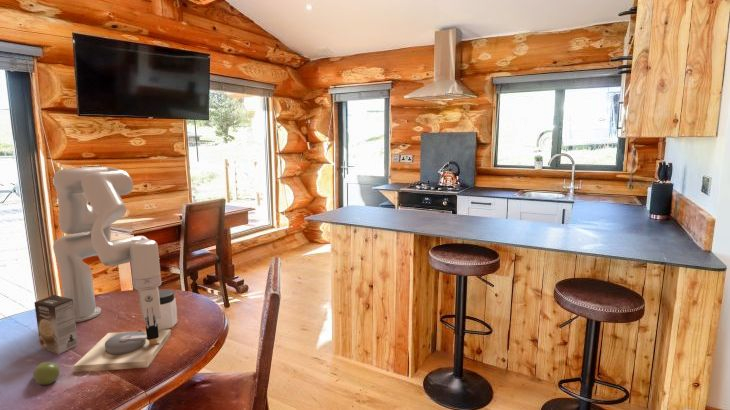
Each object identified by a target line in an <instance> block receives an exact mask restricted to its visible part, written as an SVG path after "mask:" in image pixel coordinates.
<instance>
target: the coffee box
mask: <svg viewBox="0 0 730 410" xmlns="http://www.w3.org/2000/svg"><path fill="white" fill-rule="evenodd" d="M34 310H35V318H36V325H37V330H38V331H37V332H38V337H39V339H38V340H39V345H40V349H41V350H44V351H48V352H52V353H55V354H58V355H60V354H62V353H64V352H66V351H69V350H70V349H72V348H74V347H76V346H78V345H79V343H78V342H79V341H78V333H77V326H76V324H77V323H76V322H75V315H74V306H73V299H70V298H66V297H63V296H60V295H56V294H53V295H51V296H48V297H45V298H42V299H40V300H37V301H34Z"/></svg>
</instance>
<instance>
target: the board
mask: <svg viewBox="0 0 730 410" xmlns="http://www.w3.org/2000/svg"><path fill="white" fill-rule="evenodd" d="M171 329H172V328H169V329H164V330H158V334H159V337H158V338H157V340H158V343H156V344H154V345H150V344H149V340H147V339H146V343H145V344H144V346H142V347H141V348H139V349H137V350H135V351H133V352H130V353H126V354H120V355H112V354H108V353H107V352H106V350H105V342H106V341H107V340H108V339H110V338H111V337H113V336H115V335H118V334H121V333H125V332H126V331H121V332H120V331H119V332H117V331H116V332H107V333H106V335H104V337H102V338H101V339H100V340H99V341H98V342H97V343H96V344H95V345H94V346H93V347H91V349H89V351H88V352H86V354H84V355H83V356H82V357H81V358H80V359H79V360H78V361H77V362H76V363H75V364H74V365H73V372H74V373H80V372H82V373H83V372H95V371H96V372H97V371H98V372H99V371H110V370H111V371H112V370H127V369H143V368H144V369H145V368H149V366H150V365H151V364H152V362H153V361H154V360H155V358H156V356H157V355H158V354H159V353H160V350H161V349H162V348H163V347H164V345H165V344H166V343H167V342H168V340H169V338H170V337H171V335H172V331H171ZM137 331H139V332H143V333H144V334H145V335H147V334H146V330H140V329H139V330H137Z"/></svg>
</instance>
